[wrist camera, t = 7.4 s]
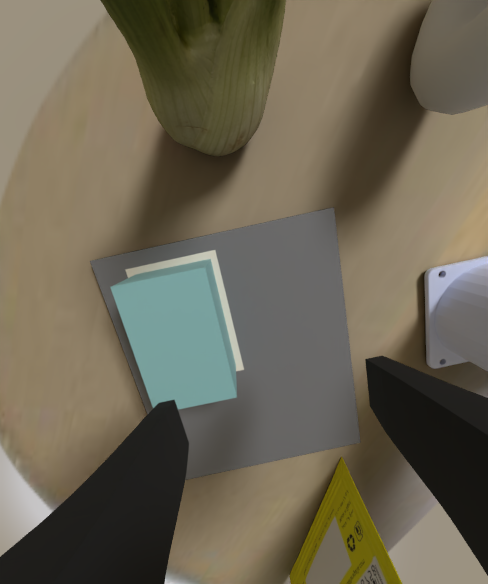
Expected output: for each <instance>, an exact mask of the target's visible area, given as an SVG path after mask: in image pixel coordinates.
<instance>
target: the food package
mask: <svg viewBox="0 0 488 584" xmlns="http://www.w3.org/2000/svg"><path fill="white" fill-rule="evenodd" d="M290 580H291V584H402V582H401V580H400V578H399V576H398V574H397V571H396V569H395V567H394V565H393V563H392V561H391V559H390V557H389V555H388V553H387V551H386V548H385V546H384V544H383V542H382V540H381V538H380V536H379V534H378V532H377V530H376V528H375V526H374V523H373V521H372V519H371V517H370V515H369V513H368V511H367V509H366V507H365V505H364V503H363V501H362V498H361V496H360V494H359V492H358V490H357V488H356V486H355V484H354V482H353V480H352V477H351V475H350V473H349V470H348V468H347V467H346V464H345V462H344V460H343V458H342V457H341V459H340V461H339V463H338V466H337V468H336V470H335V473H334V476H333V478H332V480H331V482H330V485H329V487H328V489H327V492H326V494H325V496H324V498H323V501H322V503H321V505H320V508H319V510H318V512H317V514H316V517H315V519H314V521H313V524H312V526H311V528H310V530H309V533H308V535H307V537H306V539H305V542H304V544H303V546H302V549H301V551H300V553H299V555H298V558H297V560H296V562H295V564H294V566H293V568H292V571H291V573H290Z"/></svg>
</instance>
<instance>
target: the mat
mask: <svg viewBox="0 0 488 584" xmlns="http://www.w3.org/2000/svg"><path fill="white" fill-rule="evenodd" d="M207 259H211V262H212V266H213V271H214V275H215V279H216V283H217V287H218V292H219V296H220V300H221V304H222V309H223V313H224V317H225V321H226V325H227V330H228V334H229V338H230V342H231V347H232V351H233V355H234V359H235V363H236V384H237V398H232V399H227V400H222V401H217V402H212V403H207V404H203V405H198V406H193V407H188V408H183V409H178V411H179V414H180V417H181V420H182V423H183V426H184V429H185V432H186V435H187V438H188V441H189V452H188V463H187V472H186V478H185V480H187V479H192V478H197V477H202V476H206V475H211V474H216V473H220V472H225V471H230V470H234V469H239V468H244V467H248V466H253V465H258V464H263V463H267V462H272V461H277V460H281V459H286V458H291V457H295V456H300V455H305V454H309V453H314V452H319V451H323V450H328V449H333V448H338V447H342V446H347V445H352V444H356V443H360V434H359V425H358V416H357V407H356V399H355V390H354V381H353V372H352V363H351V354H350V345H349V336H348V328H347V319H346V310H345V301H344V292H343V283H342V274H341V266H340V257H339V248H338V239H337V230H336V221H335V212H334V207H333V208H328V209H324V210H319V211H315V212H310V213H306V214H301V215H297V216H292V217H287V218H283V219H278V220H274V221H269V222H265V223H260V224H256V225H251V226H247V227H242V228H238V229H233V230H229V231H224V232H219V233H215V234H210V235H206V236H201V237H197V238H192V239H188V240H183V241H179V242H174V243H170V244H165V245H161V246H156V247H151V248H147V249H142V250H138V251H133V252H129V253H124V254H120V255H115V256H111V257H106V258H102V259H97V260H93V261H90V262H91V265H92V268H93V270H94V273H95V276H96V278H97V281H98V284H99V286H100V289H101V292H102V294H103V297H104V300H105V302H106V305H107V308H108V310H109V313H110V316H111V318H112V321H113V324H114V326H115V329H116V332H117V334H118V337H119V340H120V342H121V345H122V348H123V350H124V353H125V356H126V358H127V361H128V364H129V366H130V369H131V372H132V374H133V377H134V380H135V382H136V385H137V388H138V390H139V393H140V396H141V398H142V401H143V404H144V406H145V409H146V412H147V414H149V412H150V411H151V410H152V409H153V407H152V404H151V401H150V398H149V396H148V393H147V390H146V387H145V384H144V381H143V379H142V376H141V373H140V370H139V367H138V364H137V362H136V359H135V356H134V353H133V350H132V347H131V344H130V342H129V339H128V336H127V333H126V330H125V327H124V325H123V322H122V319H121V316H120V313H119V310H118V308H117V305H116V302H115V299H114V296H113V293H112V291H111V288H110V287H111V286H113V285H116V284H118V283H120V282H122V281H124V280H126V279H128V278H130V277H132V276H134V275H136V274H140V273H144V272H149V271H154V270H159V269H164V268H168V267H173V266H178V265H183V264H188V263H192V262H197V261H202V260H207Z"/></svg>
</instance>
